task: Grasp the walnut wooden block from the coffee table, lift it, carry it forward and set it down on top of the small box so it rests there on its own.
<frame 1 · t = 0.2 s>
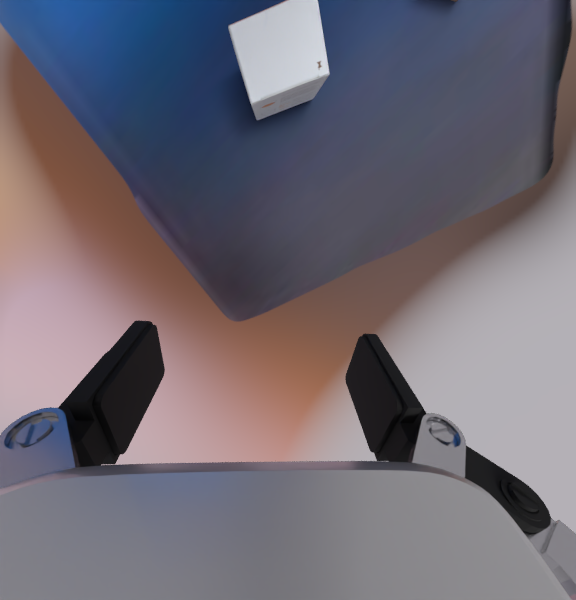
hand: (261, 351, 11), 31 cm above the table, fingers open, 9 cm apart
small box: (277, 85, 30), on the table
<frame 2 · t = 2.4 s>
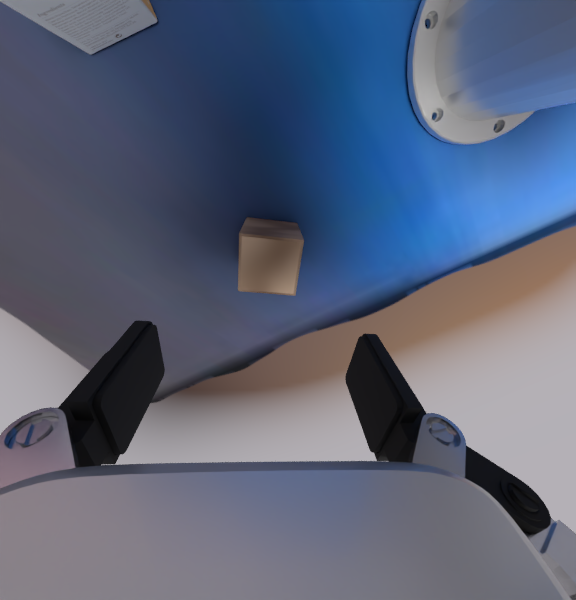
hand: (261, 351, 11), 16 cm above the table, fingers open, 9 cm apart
walnut block: (270, 244, 24), on the table
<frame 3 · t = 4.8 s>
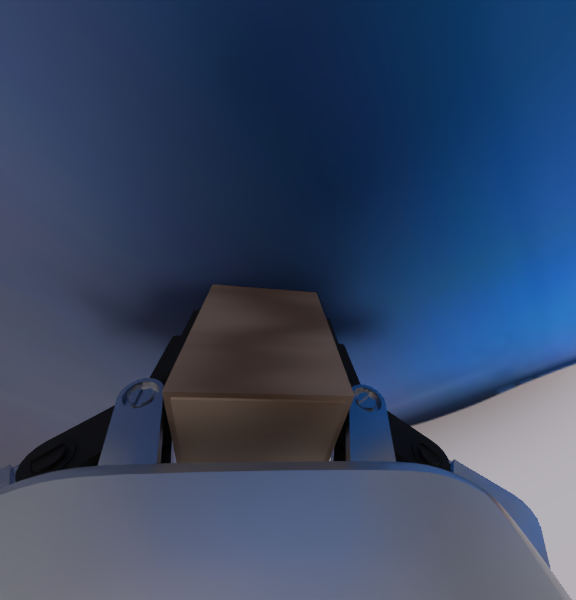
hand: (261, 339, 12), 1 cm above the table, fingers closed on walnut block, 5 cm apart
walnut block: (262, 329, 12), on the table, touching gripper
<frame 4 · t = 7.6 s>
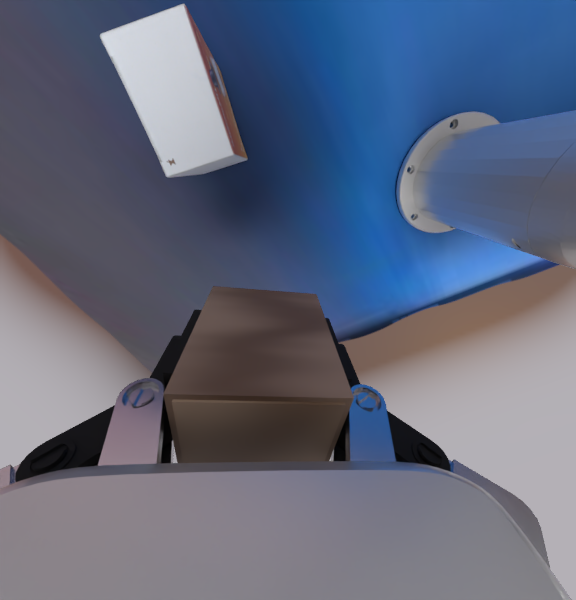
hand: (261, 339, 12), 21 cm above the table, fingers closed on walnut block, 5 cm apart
small box: (210, 125, 25), on the table
walnut block: (262, 331, 13), point 21 cm above the table, touching gripper
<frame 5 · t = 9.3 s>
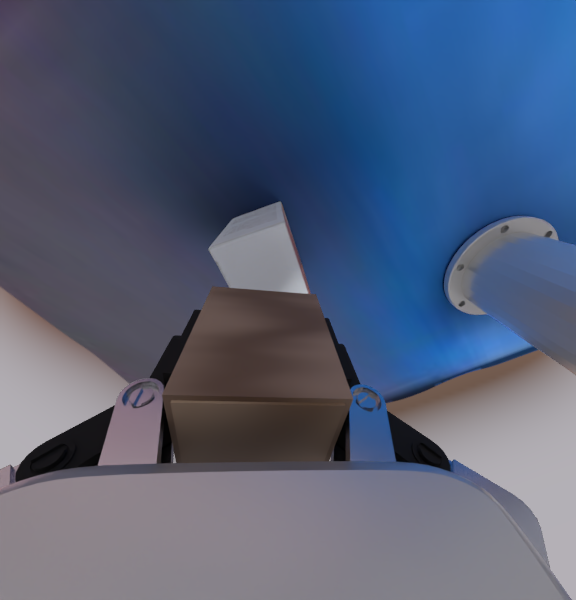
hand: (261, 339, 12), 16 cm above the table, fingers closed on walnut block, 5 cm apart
small box: (269, 244, 26), on the table
walnut block: (261, 331, 13), point 16 cm above the table, touching gripper
when the fingers open (13 cm above the table, at t = 10.7 s): walnut block drops 2 cm, resting on small box.
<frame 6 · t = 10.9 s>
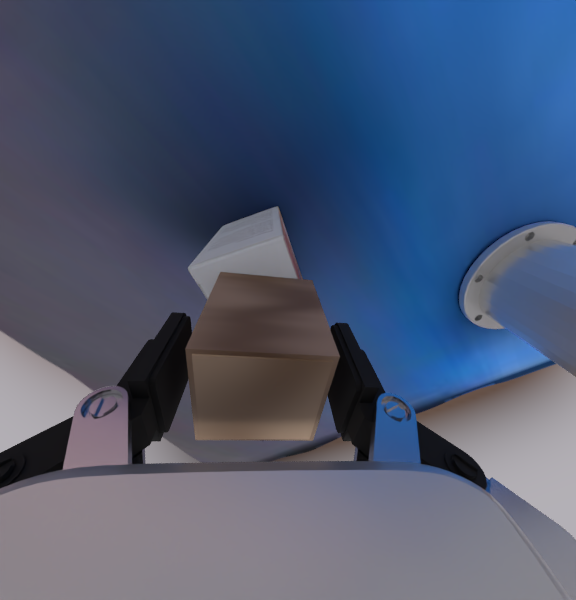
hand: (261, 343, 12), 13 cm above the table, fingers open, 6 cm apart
small box: (265, 253, 23), on the table, touching walnut block
walnut block: (263, 314, 14), point 10 cm above the table, touching small box
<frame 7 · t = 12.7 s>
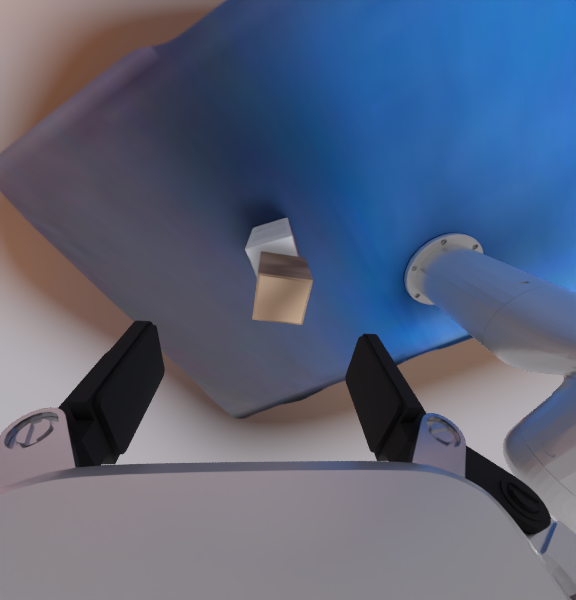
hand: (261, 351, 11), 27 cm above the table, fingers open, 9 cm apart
small box: (277, 246, 36), on the table, touching walnut block
walnut block: (279, 274, 27), point 10 cm above the table, touching small box
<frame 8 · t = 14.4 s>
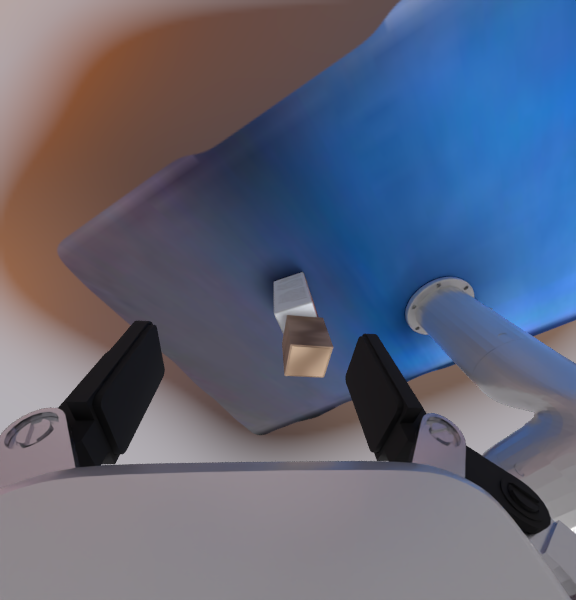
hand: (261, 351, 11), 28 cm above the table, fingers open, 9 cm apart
small box: (294, 294, 42), on the table, touching walnut block
walnut block: (301, 331, 33), point 10 cm above the table, touching small box
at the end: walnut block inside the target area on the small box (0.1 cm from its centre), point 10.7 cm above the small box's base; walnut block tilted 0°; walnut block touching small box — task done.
